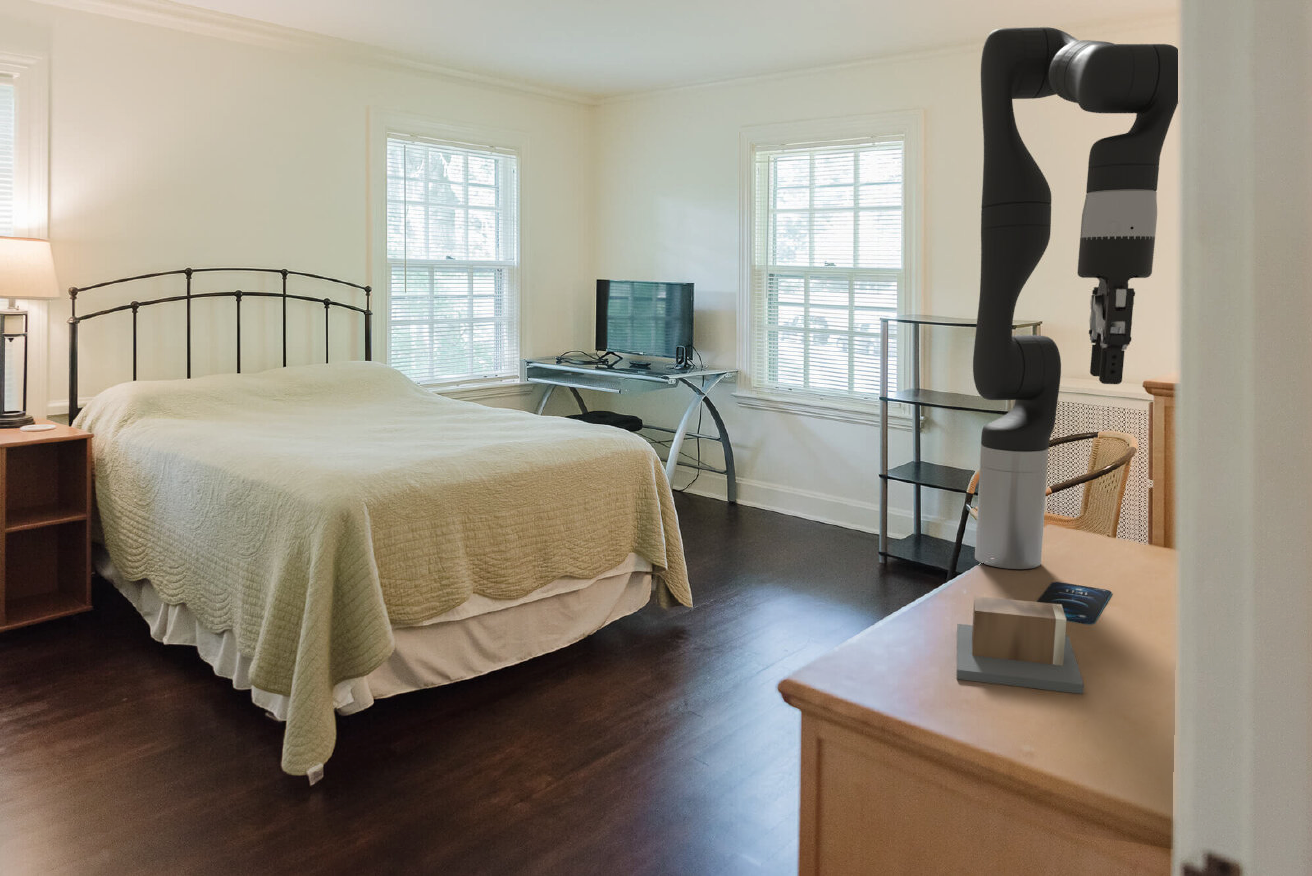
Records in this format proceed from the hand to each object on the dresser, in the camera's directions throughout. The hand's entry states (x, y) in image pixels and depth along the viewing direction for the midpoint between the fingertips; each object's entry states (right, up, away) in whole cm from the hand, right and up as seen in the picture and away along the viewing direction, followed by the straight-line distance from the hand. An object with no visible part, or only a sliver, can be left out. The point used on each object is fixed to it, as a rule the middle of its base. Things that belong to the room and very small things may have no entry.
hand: (1104, 379), depth 107 cm
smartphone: (+2, -28, +14) cm, 32 cm away
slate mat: (-12, -31, -5) cm, 34 cm away
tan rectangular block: (-16, -27, -4) cm, 32 cm away
